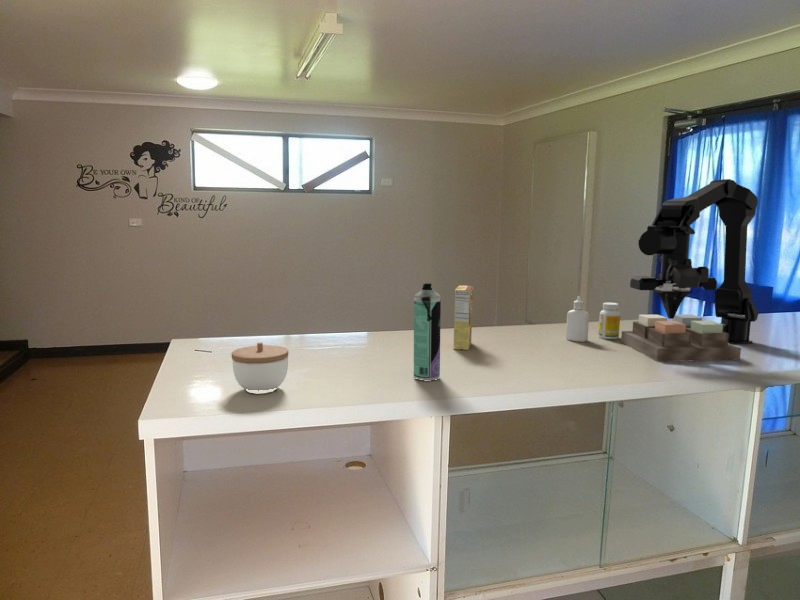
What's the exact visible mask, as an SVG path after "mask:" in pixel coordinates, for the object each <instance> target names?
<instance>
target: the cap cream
mask: <svg viewBox="0 0 800 600" xmlns="http://www.w3.org/2000/svg"><path fill="white" fill-rule="evenodd" d="M638 321H639V323H640V324H642V325H645V326H655V321H668V317H665V316H663V315H660V314H638Z"/></svg>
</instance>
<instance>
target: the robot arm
mask: <svg viewBox="0 0 800 600" xmlns="http://www.w3.org/2000/svg"><path fill="white" fill-rule="evenodd" d="M758 199H759V198H758V196H757V195H756V194H755V193H754V192H753V191H752V190H751V189H750V188H748V187H744V186H743V185H740V184H738V183H737V182H736V181H735V180H734V179H731V178H726V179H725V178H724V179H714V180H711V181H710V182H709V183H708V184H707V185H705V186H703V187H701V188H700V189H697V190H695V191H694V192H692V193H690V194H688V195H687V196H683V197H677V198H672V199H668V200H666V201H664V202H663V203H662V204H661V207H660V208H659V210H658V212H657V214H656V216H655V218H654V219H653V221H652V223H651V225H647V228H646V231H645V232H643V233H642V234H641V235H640V236H639V240H638V242H637V243H638V247H639V248H638V249H639V250H640V252H641V253H642V254H643V255H645V256H659V260H658V262H661V266H660V273H658V275H657V278H656V277H652V276H648V275H633V276H632V278H631V279H630V282H629V287H630V288H632V289H634V290H638V291H653V292H656V294H658V297H659V299H660V301H661V303H662V306H663V308H664V311H665V313H666V316H667V319H669V320H672V319H673V318H674V316H675V314H677V312H678V310H679V308H680V306H681V304H682V302H683V300H684V298H685V297H687V296H688V295H691V294H693V292H694V291H693V290H691V289H692V288H693V289H699V288H702V289H703V290H704V291H714V301H713V303H714V310H715V317H716V318H720V320H721V321H720V324H723V329H722V331H723V332H726V333H728V334H729V336H728V343H729V344H754V343H753V342H754V341H752V340H750V332H751V323H753V322H756V321H757V320H758V318H759V317H758V316H759V310H758V308H757V306H756V305H755V303H754V301H753V294H752V293H753V292H752V289H751V288H750V286H749V285H748V283H747V282H746V269H747V268H746V267H747V266H746V264H747V243H748V227H749V225H750V223H751V222H752V220H753V219H754V217H755V216H756V214H757V213H756V211H757V206H758V203H759V200H758ZM713 205H714V206H715V207H716V208H718V217H719V218H720V220H721V221H722V223H723V224H724V226H725V234H724V235H725V237H724V266H723V282H722V283H721V284H720V285H719V287H718V280H717V279H716V278H715V277H712V276H710V274H709V272H710V269H709V268H708V266H698V267H693V265H692V263H693V262H692V259H691V258H689V256H690V255H689V254H690V240H691V235H695V234H696V232H695V231H696V230H694V229H693V228H692V227H691V225H693V224H694V222H696V221H697V220H698V219H699V218H700V217H701V212H703V211H704V210H706V209H707V208H709V207H710V206H713ZM660 255H661V256H660Z"/></svg>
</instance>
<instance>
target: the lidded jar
mask: <svg viewBox="0 0 800 600" xmlns="http://www.w3.org/2000/svg"><path fill="white" fill-rule="evenodd" d="M231 360H232V370H233V371H232V372H233V374H234V377H235V378H234V379H235V380H236V382H237V384H238V385H239V386H240V387H241V388H242V389H243V388H244V390H245V389H248V390H258V391H259V390H269V389H274V388H277V387H278V388H279V387H280V386H281V385H282V384H283V383H284V381H285V379H286V377H287V374H288V369H289V368H288V367H289V350H288V348H286V347H284V346H281V345H271V344H269V345H268V344H263V342H260V341H259V342H257V343H256V345H250V346H243V347H239V348H237V349H235V350H233V351H232V352H231ZM278 388H277V389H278Z"/></svg>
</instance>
